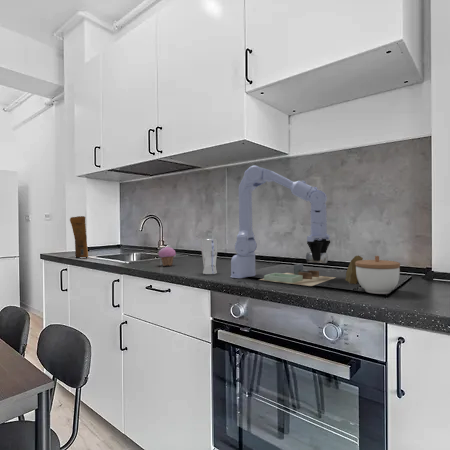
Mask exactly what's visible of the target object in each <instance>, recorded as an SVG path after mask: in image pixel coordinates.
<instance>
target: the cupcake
mask: <svg viewBox="0 0 450 450" xmlns="http://www.w3.org/2000/svg"><path fill="white" fill-rule="evenodd" d="M176 255H177V253H176V250H175V249H174V248H173V247H170V246H165V247H162V248H161V249H160V250H158V257H160V260H161V263H162V266H163V267H166V266H169V267H172V266H173V262H174V257H175V256H176Z"/></svg>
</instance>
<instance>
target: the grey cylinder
mask: <svg viewBox="0 0 450 450" xmlns="http://www.w3.org/2000/svg"><path fill="white" fill-rule="evenodd" d="M305 260H306V262H307V263H318V264H319V263H322V264H327V263H328V261H329V254H328V253H327V252H326V253H321V255H320V261H313V257H312V253H311V251H310V252H309V251H308V252H307V253H306V255H305Z"/></svg>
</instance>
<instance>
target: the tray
mask: <svg viewBox="0 0 450 450" xmlns="http://www.w3.org/2000/svg"><path fill="white" fill-rule="evenodd" d="M263 278H264V280H270V281H269V282H273V281H279V282H278V283H281V282H288V283H287V284H290V283H294V282H297V281H301V280H303V275H293V274H283V273H282V272H272V273H269V274H264V275H263ZM264 280H263V281H264Z"/></svg>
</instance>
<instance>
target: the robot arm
mask: <svg viewBox="0 0 450 450" xmlns="http://www.w3.org/2000/svg"><path fill="white" fill-rule="evenodd" d="M272 182H274V183H276V184H278V185H280V186H283V187H285V188H287V189H289V190H290V191H291V195H293V196H295V197H296V198H298V199H299V198H300V199H301V200H303V201H304V202H309V203H310V213H309V214H310V235H307V236H306V240H307V241H306V245H307V246H308V248H309V250H310V252H311V253H312V257H313V261H320V255H321V253H327V251H328V248H329V245H330V244H331V240H330V237H331V235H330V234H328V226H327V225H328V219H327V217H328V214H327V213H328V212H327V211H328V210H327V204H326V203H327V202H328V196H327V194H326V192H324V191H323V190H320V189H318V187H317V186H312V185H310V184H307V181H305V180H303V179H302V180H297V181H293V180H291V179H289V178H288V177H286V176H284V175H282V174H279V173H277V172H275V171H273V170H271V169H268V168H264V167H260V166H258V165H250V166H249V167H248V168H247V169H246V170H245V171H244V174H243V177H242V179H241V181H240V183H239V185H238V224H239V225H238V226H239V227H238V228H239V231H238V232H237V233H238V234H237V235H236V241H235V244H234V250H235V252H236V254H234V255H233V256H232V257H231V260H230V276H229V278H231V279H232V278H233V279H234V278H235V279H243V278H248V277H255V276H256V253H255V251H256V250H257V246H258V244H257V241H256V240H255V239H256V238H255V234H254V231H253V198H252V197H253V194H252V192H254V191H255V189H256V188H258V187H259V186H261V185H263V184H265V183H272Z"/></svg>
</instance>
